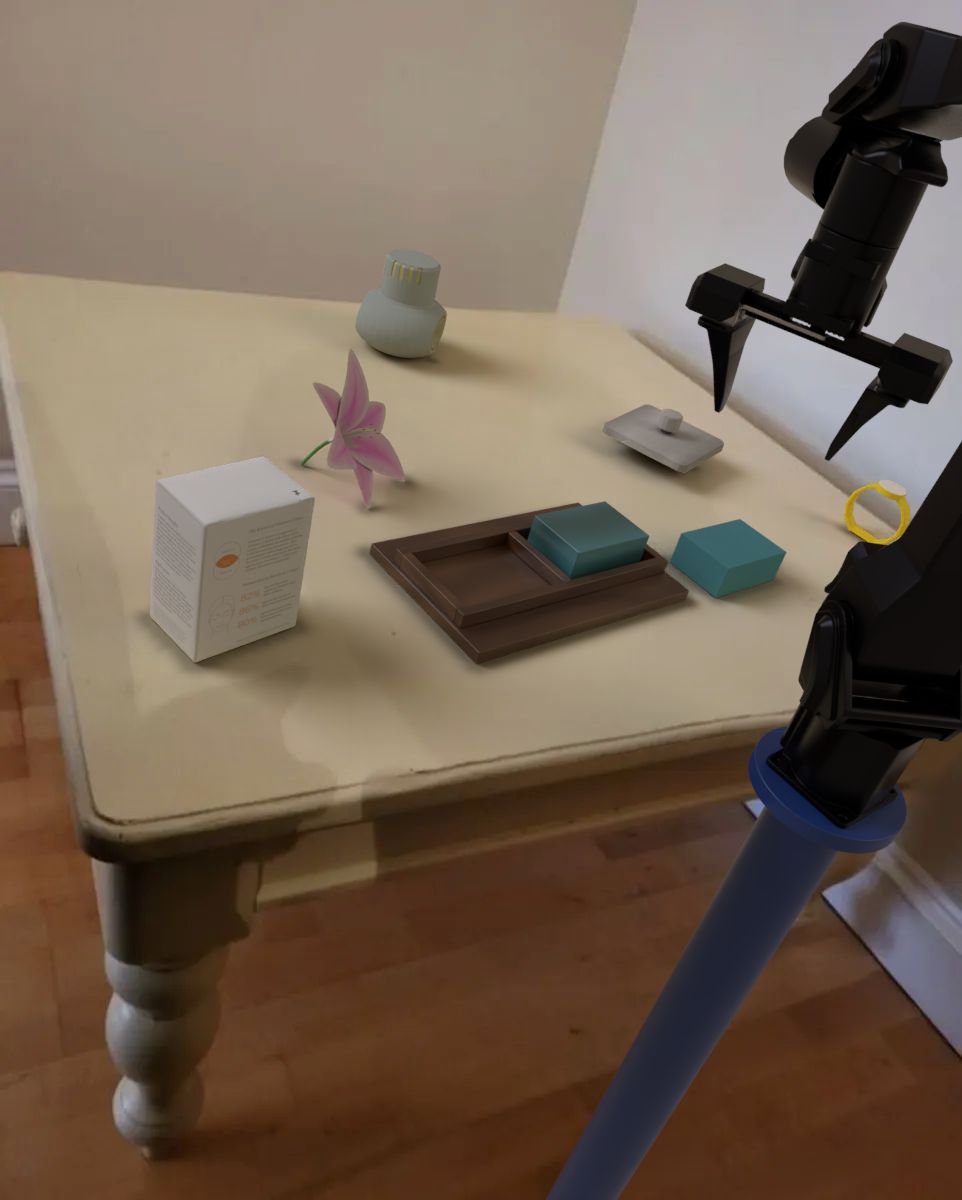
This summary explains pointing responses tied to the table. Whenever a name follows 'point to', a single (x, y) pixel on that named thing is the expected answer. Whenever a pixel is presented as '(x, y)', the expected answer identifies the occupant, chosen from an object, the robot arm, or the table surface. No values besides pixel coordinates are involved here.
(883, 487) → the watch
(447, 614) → the brown two-compartment tray
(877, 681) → the robot arm
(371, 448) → the lily
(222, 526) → the small box
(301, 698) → the table surface
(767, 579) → the pad
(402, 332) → the air freshener
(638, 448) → the light switch
